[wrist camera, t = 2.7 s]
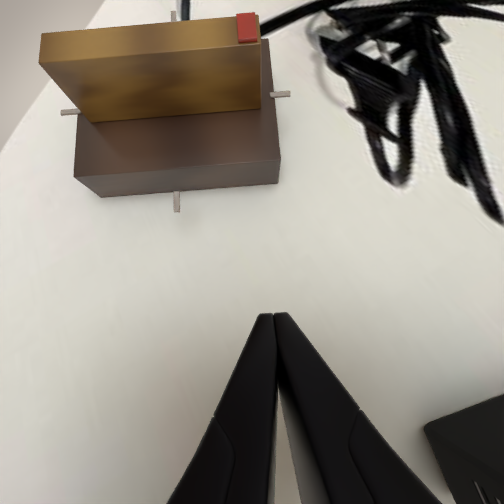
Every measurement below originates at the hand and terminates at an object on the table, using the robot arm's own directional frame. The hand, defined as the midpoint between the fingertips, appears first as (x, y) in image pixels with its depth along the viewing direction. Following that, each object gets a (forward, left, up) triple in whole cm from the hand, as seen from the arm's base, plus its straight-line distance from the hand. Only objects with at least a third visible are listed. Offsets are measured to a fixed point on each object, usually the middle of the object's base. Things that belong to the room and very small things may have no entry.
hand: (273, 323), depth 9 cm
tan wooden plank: (+7, +15, -9) cm, 18 cm away
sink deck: (+7, +15, -13) cm, 20 cm away
